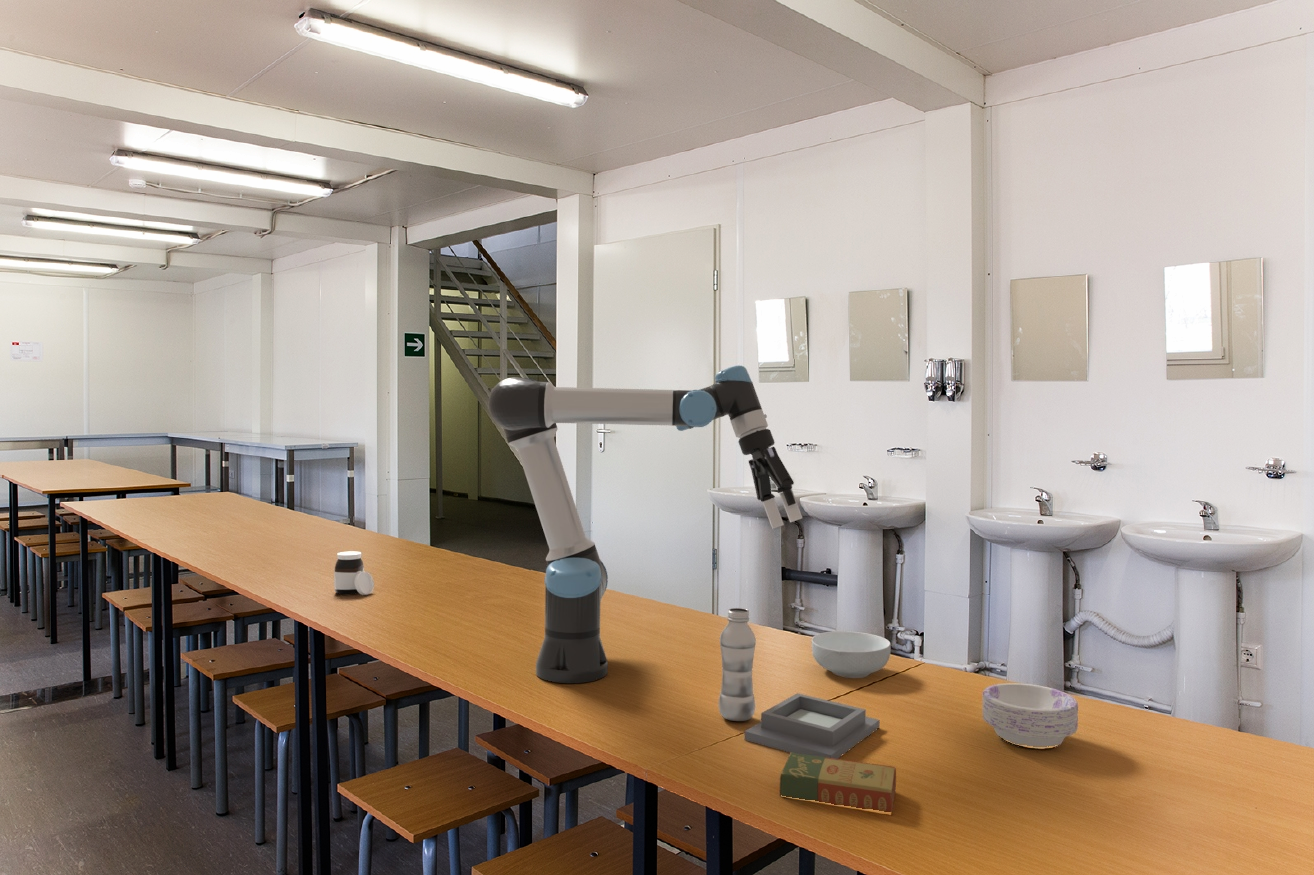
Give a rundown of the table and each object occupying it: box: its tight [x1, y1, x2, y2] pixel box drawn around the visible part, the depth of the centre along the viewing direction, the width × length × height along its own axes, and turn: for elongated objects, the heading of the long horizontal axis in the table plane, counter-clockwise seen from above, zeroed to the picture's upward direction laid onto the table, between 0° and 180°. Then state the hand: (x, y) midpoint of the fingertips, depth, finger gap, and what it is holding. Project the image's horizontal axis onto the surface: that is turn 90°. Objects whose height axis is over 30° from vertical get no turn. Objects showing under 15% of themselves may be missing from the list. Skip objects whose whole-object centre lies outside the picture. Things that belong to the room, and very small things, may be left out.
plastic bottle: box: [718, 607, 757, 722], centre depth 156 cm, size 6×7×20 cm
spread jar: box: [333, 550, 375, 596], centre depth 254 cm, size 12×11×12 cm
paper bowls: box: [982, 682, 1079, 747], centre depth 149 cm, size 15×15×8 cm
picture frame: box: [744, 692, 881, 759], centre depth 150 cm, size 20×16×4 cm
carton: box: [779, 752, 897, 813], centre depth 126 cm, size 8×16×4 cm, turn 71°
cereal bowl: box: [810, 630, 892, 679], centre depth 185 cm, size 17×17×7 cm
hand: (787, 524), depth 187 cm, fingers open, 13 cm apart
